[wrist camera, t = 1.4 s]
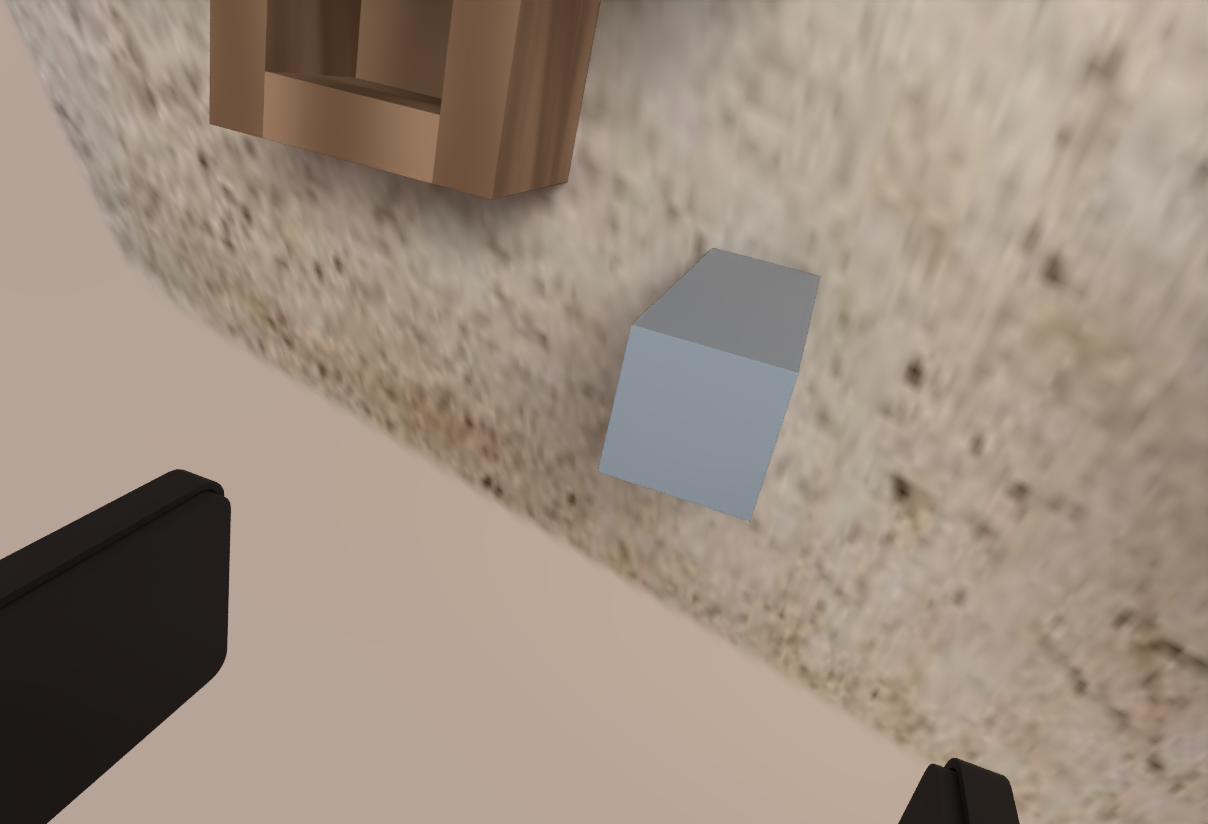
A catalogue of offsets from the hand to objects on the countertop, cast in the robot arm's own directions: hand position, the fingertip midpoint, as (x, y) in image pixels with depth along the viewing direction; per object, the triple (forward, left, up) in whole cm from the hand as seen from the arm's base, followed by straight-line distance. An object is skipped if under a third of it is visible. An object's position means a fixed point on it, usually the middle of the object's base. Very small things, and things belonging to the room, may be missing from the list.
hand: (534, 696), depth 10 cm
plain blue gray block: (0, 0, -22) cm, 22 cm away
